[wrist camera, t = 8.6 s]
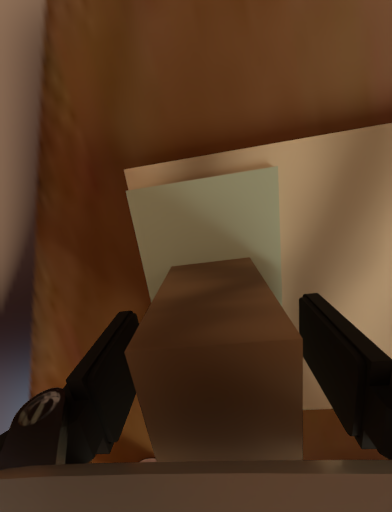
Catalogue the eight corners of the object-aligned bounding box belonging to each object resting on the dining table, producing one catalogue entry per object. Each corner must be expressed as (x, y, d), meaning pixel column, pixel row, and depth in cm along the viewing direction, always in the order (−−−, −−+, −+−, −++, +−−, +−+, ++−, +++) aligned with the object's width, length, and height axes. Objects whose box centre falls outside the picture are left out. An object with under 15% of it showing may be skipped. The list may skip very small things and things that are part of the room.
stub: (275, 167, 9) (405, 108, 3) (283, 399, 13) (349, 582, 7) (128, 191, 10) (-4, 182, 4) (177, 404, 14) (150, 572, 8)
